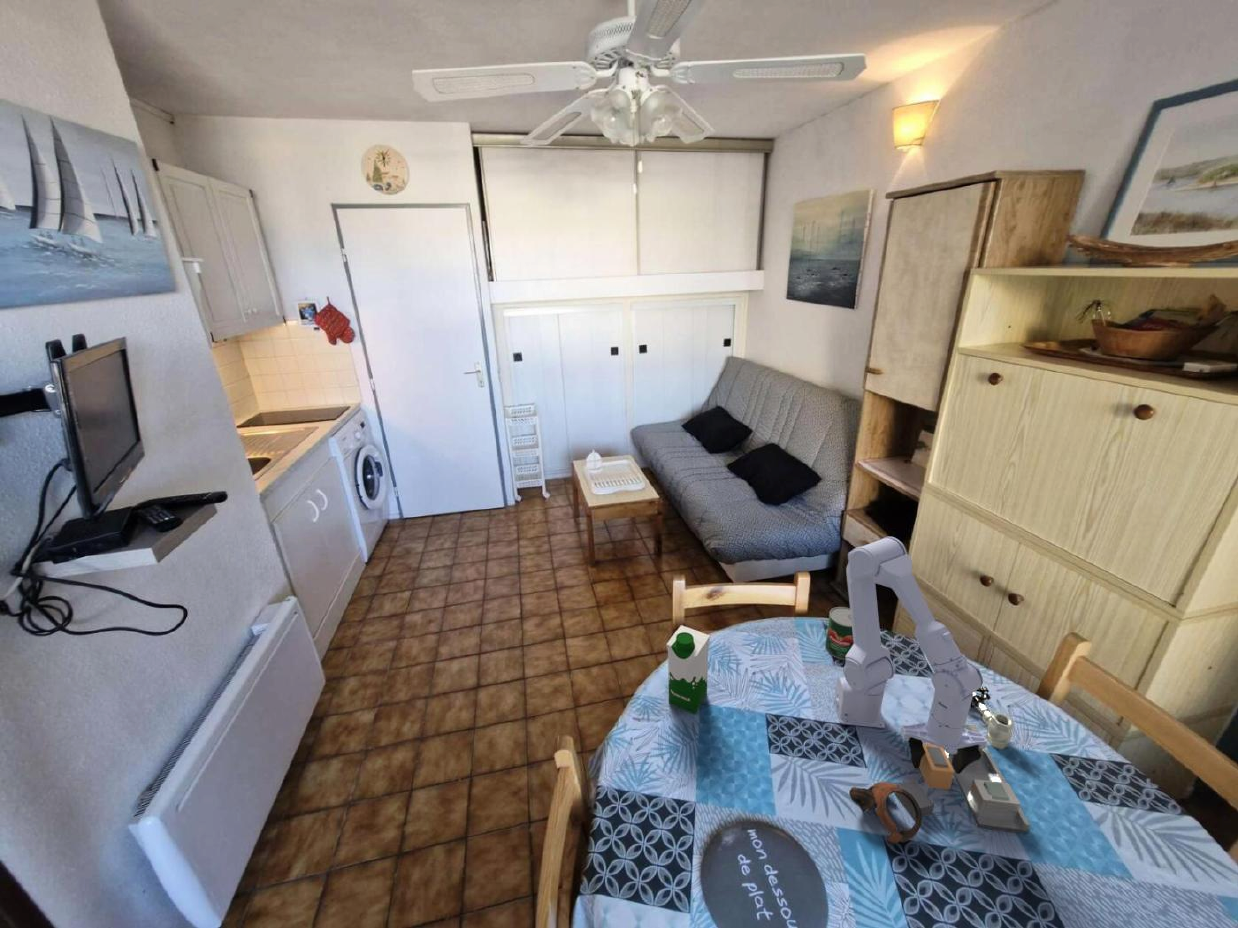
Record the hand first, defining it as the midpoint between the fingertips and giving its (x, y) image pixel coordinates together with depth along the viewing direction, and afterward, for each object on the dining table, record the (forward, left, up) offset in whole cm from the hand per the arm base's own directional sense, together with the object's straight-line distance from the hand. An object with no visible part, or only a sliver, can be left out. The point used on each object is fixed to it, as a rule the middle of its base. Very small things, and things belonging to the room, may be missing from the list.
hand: (934, 766), depth 102 cm
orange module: (0, 0, -2) cm, 2 cm away
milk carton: (-50, +13, -2) cm, 52 cm away
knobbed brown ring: (-13, -10, -3) cm, 17 cm away
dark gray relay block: (-6, -7, -3) cm, 9 cm away
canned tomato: (-10, +35, -3) cm, 37 cm away
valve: (+16, +14, -3) cm, 21 cm away
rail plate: (+8, 0, -2) cm, 8 cm away
